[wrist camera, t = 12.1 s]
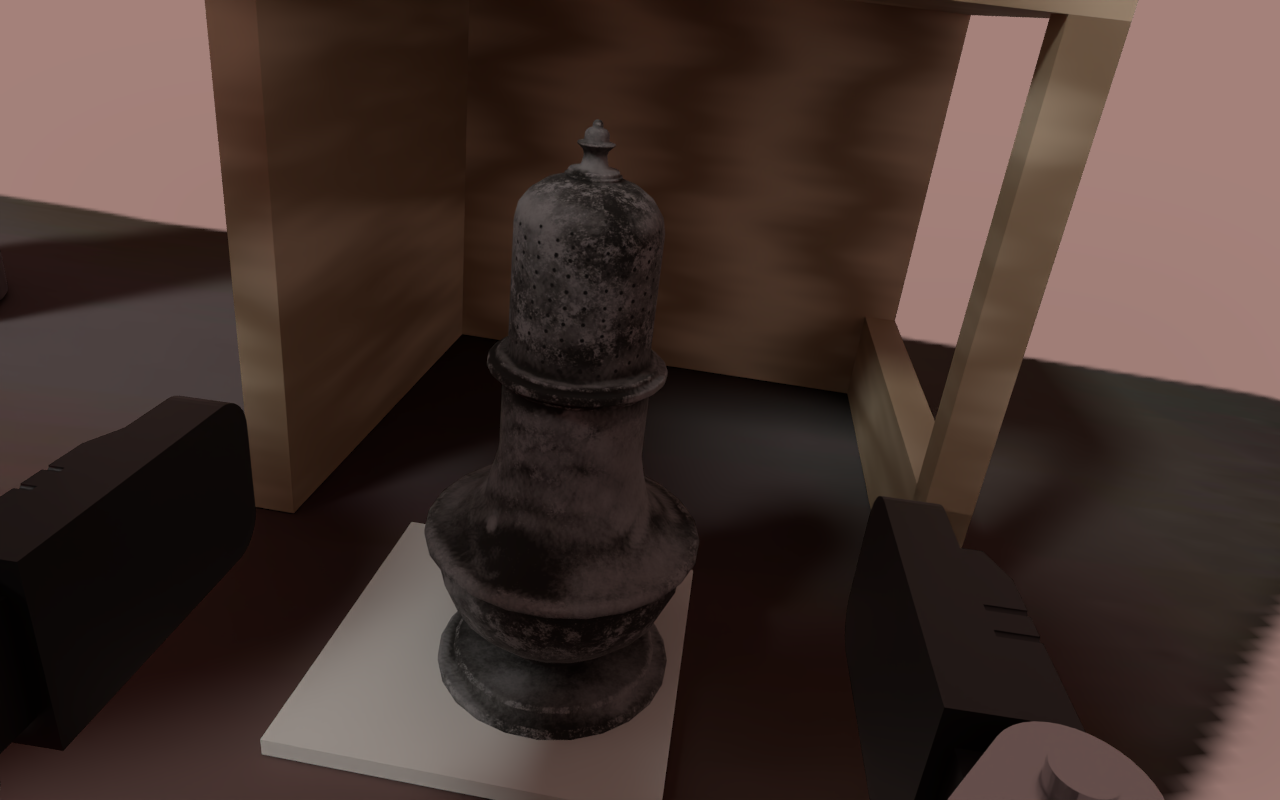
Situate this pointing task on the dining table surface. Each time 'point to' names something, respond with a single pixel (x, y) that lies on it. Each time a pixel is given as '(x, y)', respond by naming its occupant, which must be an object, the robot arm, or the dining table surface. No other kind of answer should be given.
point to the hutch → (659, 164)
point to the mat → (455, 705)
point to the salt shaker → (567, 476)
